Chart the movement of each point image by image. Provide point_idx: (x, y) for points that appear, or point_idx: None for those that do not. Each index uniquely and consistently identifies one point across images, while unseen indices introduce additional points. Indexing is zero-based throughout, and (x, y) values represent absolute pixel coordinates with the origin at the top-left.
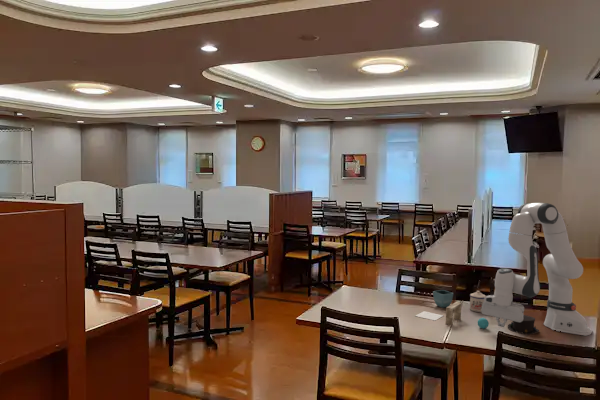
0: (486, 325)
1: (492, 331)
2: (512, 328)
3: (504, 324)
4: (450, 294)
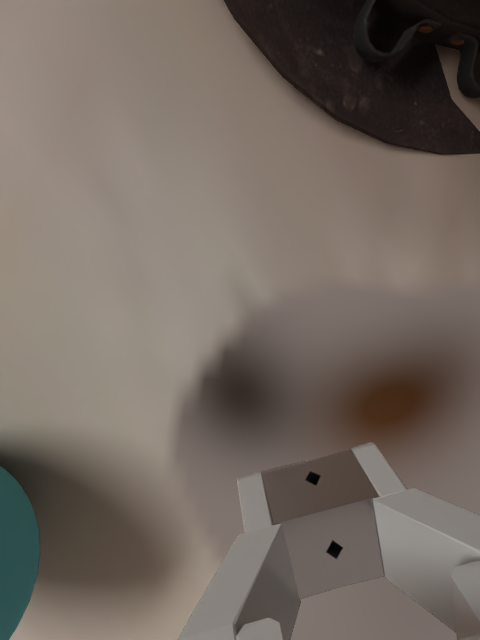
0: (33, 584)
1: (164, 478)
2: (370, 49)
3: (396, 487)
4: None
